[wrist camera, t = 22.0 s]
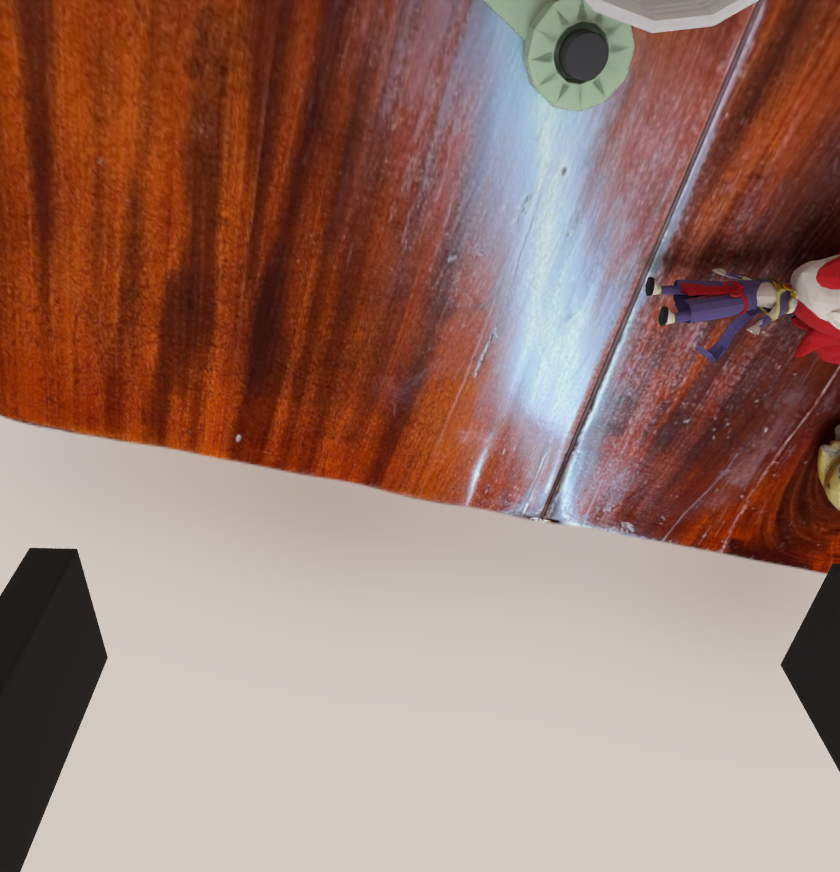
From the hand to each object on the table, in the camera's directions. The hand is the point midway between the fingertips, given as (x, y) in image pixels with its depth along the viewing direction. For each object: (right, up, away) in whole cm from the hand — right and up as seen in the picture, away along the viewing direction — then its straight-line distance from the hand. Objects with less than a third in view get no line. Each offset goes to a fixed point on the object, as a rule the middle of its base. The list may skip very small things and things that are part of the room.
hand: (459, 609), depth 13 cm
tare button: (+7, +21, +21) cm, 30 cm away
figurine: (+20, +12, +30) cm, 38 cm away
